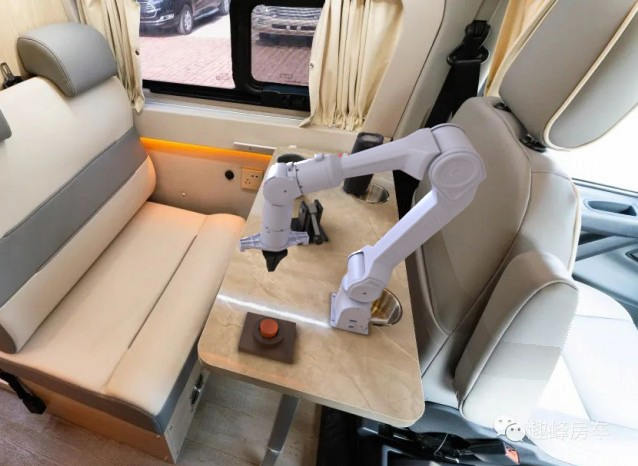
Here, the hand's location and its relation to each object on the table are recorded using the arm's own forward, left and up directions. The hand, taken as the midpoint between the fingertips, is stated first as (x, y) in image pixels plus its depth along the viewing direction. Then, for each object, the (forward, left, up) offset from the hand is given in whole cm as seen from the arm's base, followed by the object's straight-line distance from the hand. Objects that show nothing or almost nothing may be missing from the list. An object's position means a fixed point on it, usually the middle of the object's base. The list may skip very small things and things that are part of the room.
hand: (270, 268), depth 74 cm
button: (-12, -2, -6) cm, 14 cm away
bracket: (+26, -7, -9) cm, 29 cm away
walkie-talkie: (+69, -18, -10) cm, 72 cm away
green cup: (+45, +1, -10) cm, 46 cm away
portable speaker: (+52, -21, -10) cm, 57 cm away
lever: (+23, -9, -5) cm, 25 cm away
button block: (-12, -2, -9) cm, 15 cm away
